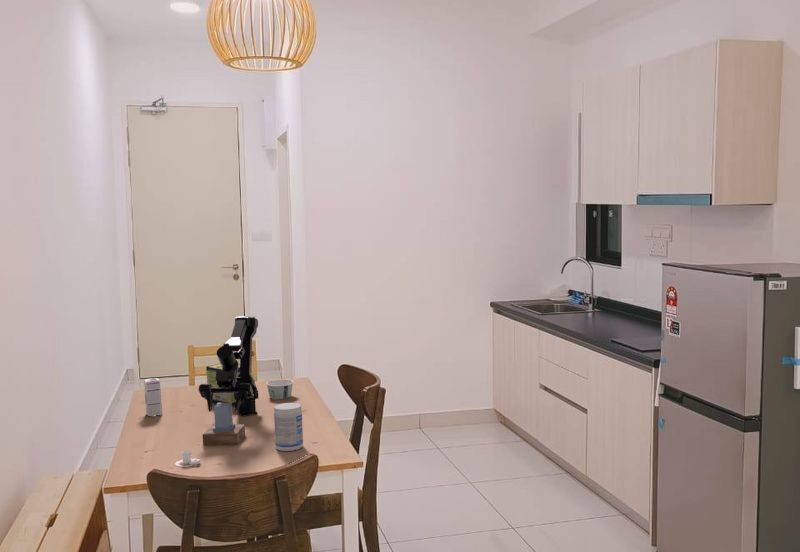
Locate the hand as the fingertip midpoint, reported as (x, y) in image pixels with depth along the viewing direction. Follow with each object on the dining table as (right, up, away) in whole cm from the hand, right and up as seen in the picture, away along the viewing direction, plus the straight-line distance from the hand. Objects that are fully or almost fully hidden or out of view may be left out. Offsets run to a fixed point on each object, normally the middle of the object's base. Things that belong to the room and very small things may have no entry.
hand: (222, 411), depth 268 cm
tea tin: (0, -7, +2) cm, 7 cm away
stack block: (0, -11, +2) cm, 11 cm away
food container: (+11, -5, +62) cm, 63 cm away
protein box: (-10, -6, +56) cm, 58 cm away
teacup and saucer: (-6, -14, -24) cm, 29 cm away
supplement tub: (+25, -11, -8) cm, 29 cm away
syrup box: (-37, -8, +38) cm, 53 cm away
